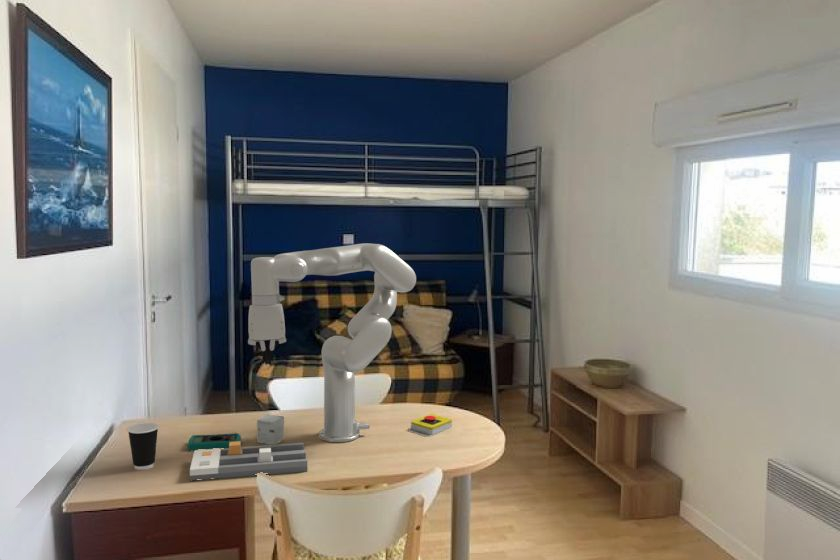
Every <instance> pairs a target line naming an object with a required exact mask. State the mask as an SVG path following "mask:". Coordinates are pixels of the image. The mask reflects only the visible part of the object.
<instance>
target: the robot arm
mask: <svg viewBox="0 0 840 560" xmlns="http://www.w3.org/2000/svg"><path fill="white" fill-rule="evenodd" d="M365 271H370V272H374V275H373V280H374V290H373V291H374V292H373V295H372V297H371V298H370V299H369V300H368V301H367V303H366V304H365V305H364V306H363V307H362V308H361V309H360V310H359V311H358V312H357V313H356V314H355V315H354V316H353V318H351V320H350V321H349V323H348V325H347V333H348V335H349V336H350V337H351V338H349V337H345V336H342V335H333V336H331V337H329V338H327V339H326V340H325V341H324V342H323V344H322V348H321V361H322V368H323V382H324V383H323V386H324V387H323V388H324V389H323V391H324V392H323V394H324V395H323V399H324V400H323V403H324V404H323V405H324V406H323V410H324V411H323V413H324V415H323V422H324V423H323V427H324V428H323V429H321V430H320V431H319V433H318V436H319V438H320V439H321V440H323V441H325V442H330V443H345V442H350V441H354V440H357V439H358V438H359V437H360V430H361V431H362V430H365V431H366V430H370V428H371V425H370V423H369V422H367V423H365V421H360V422H358V421H356V418H355V417H356V416H355V415H356V406H355V405H356V404H355V400H356V399H355V398H356V396H355V395H356V393H355V391H356V380H355V379H356V377H355V373H359V372H361V371H363V370H364V369H365V368H367V366H368V365H369V364H370V363H371V362H372V361H373V360H374V359H375V358H376V357H377V356H378V355H379V354H380V352H381V351H382V350H383V349H384V348H385V347H386V346H387V345H388V343H389V342H390V339H391V337H392V324H391V323H390V321H389V319H390V318H391V317H392V315H393V314H394V312H395V310H396V308H397V304H398V303H397V302H398V293H408V292H411V291H412V290H413V288H414V287H415V286H416V283H417V275H416V273H415V271H414V268H413V267H411V266H410V265H409V264H408V263H407V262H405V261H404V260H403V259H402V258H400V257H399V256H398V255H397V253H395V252H393V250H391V249H390V248H389V247H387V246H385V245H384V244H380V243H367V242H366V243H365V242H364V243H356V244H350V245H343V246H342V245H341V246H334V247H326V248H325V247H324V248H318V249H311V250H302V251H301V250H300V251H292V252H284V253H280V254H276V255H275V256H260V257H255V258H252V260H251V262H250V273H251V274H250V275H251V276H250V277H251V299H252V302H251V303H252V304H250V305H249V309H248V319H247V320H248V327H247V328H248V330H247V331H248V339H247V344H248V345H250V346H256V347H257V348H258V349H260V350H261V351H262V352H261V353H262V362H264V364H265V365H272V362H273V361H274V350H275V349H276V348H277V347H278V345H279V344H280V345H281V344H284V343H286V342H287V338H286V325H285V314H284V308H283V304H282V303H280V302H282V301H285V295H281V294H280V282H290V283H295V282H299V281H302V280H303V279H304V278H305V277H306V276H310V275H311V276H312V275H315V276H324V277H325V276H327V277H328V276H330V277H331V276H341V275H345V274H350V273H357V272H365ZM265 341H269V346H268V348H267V346H266V344H265Z"/></svg>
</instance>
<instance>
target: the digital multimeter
mask: <svg viewBox="0 0 840 560" xmlns="http://www.w3.org/2000/svg"><path fill="white" fill-rule="evenodd" d="M236 441H241V442H242V436H241V435H240V433H238V432H237V433H233V432H232V433H223V434H222V433H219V434H218V433H217V434H198V435H197V434H194V435H191V436H190V438H189V439H188V441H187V442H188V443H187V450H188V451H189V450H198V449H213V448H229V442H236Z"/></svg>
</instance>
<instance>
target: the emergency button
mask: <svg viewBox="0 0 840 560" xmlns="http://www.w3.org/2000/svg"><path fill="white" fill-rule="evenodd" d="M410 424H411V425H410V428H409V429H407V431H408V432H409V431H410V433H413V434H415V435H420V436H423V437H426V438H432V437H434V436H436V435H438V434H440V432H441V433H442V432H445V431H444V430H446V431H448V430H450V429H449V428H451V427H452V424H453V419H451V418H448V417H446V416H441V415H437V414H433V413H431V414H427V415H425V416H422V417H418V418H417V419H414V420H411V422H410ZM447 429H448V430H447ZM451 429H452V428H451Z"/></svg>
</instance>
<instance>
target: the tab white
mask: <svg viewBox="0 0 840 560" xmlns="http://www.w3.org/2000/svg"><path fill="white" fill-rule="evenodd" d="M259 456H260V457H258V463H263V462H273V456H271V448H262V449H259Z"/></svg>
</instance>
